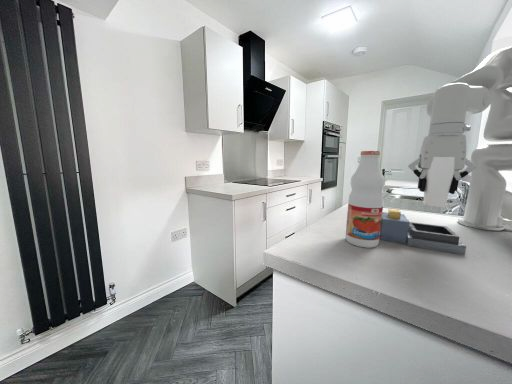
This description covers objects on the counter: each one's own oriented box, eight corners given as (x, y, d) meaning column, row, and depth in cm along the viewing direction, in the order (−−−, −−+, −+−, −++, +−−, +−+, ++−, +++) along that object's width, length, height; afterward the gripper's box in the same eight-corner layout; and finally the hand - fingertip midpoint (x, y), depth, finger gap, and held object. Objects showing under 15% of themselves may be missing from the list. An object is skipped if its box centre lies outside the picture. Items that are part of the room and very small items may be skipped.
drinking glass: (421, 203, 70) (428, 157, 67) (449, 206, 65) (457, 157, 62) (418, 206, 65) (425, 156, 62) (447, 210, 60) (456, 156, 58)
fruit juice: (367, 236, 71) (376, 151, 67) (385, 248, 62) (397, 150, 57) (340, 236, 71) (347, 151, 66) (354, 248, 61) (363, 150, 57)
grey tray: (447, 239, 70) (452, 212, 68) (464, 254, 58) (470, 223, 57) (372, 228, 79) (374, 205, 78) (373, 240, 68) (376, 213, 66)
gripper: (479, 131, 61) (468, 193, 64) (406, 133, 68) (400, 188, 71) (493, 128, 54) (480, 196, 57) (411, 130, 62) (403, 191, 65)
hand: (436, 191), depth 64 cm, fingers closed on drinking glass, 6 cm apart
